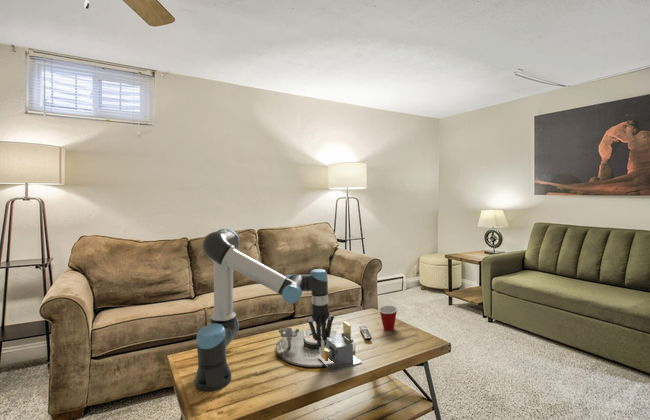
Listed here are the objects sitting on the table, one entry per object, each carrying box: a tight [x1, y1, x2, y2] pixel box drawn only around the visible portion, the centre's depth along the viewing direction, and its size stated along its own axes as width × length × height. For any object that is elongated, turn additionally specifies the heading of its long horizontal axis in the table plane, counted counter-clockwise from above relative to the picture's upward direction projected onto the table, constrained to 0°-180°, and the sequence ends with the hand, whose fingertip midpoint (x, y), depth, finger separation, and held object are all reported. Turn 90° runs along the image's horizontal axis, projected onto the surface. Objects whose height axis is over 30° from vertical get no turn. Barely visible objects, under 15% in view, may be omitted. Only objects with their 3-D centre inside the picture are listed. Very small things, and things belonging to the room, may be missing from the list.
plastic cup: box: [378, 305, 398, 332], centre depth 197 cm, size 11×11×12 cm
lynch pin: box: [320, 347, 334, 361], centre depth 161 cm, size 14×5×5 cm, turn 116°
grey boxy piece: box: [325, 332, 363, 373], centre depth 162 cm, size 16×14×11 cm
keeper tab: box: [342, 320, 352, 340], centre depth 163 cm, size 7×6×1 cm
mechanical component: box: [278, 327, 300, 348], centre depth 177 cm, size 3×10×10 cm, turn 89°
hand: (322, 353), depth 158 cm, fingers closed
